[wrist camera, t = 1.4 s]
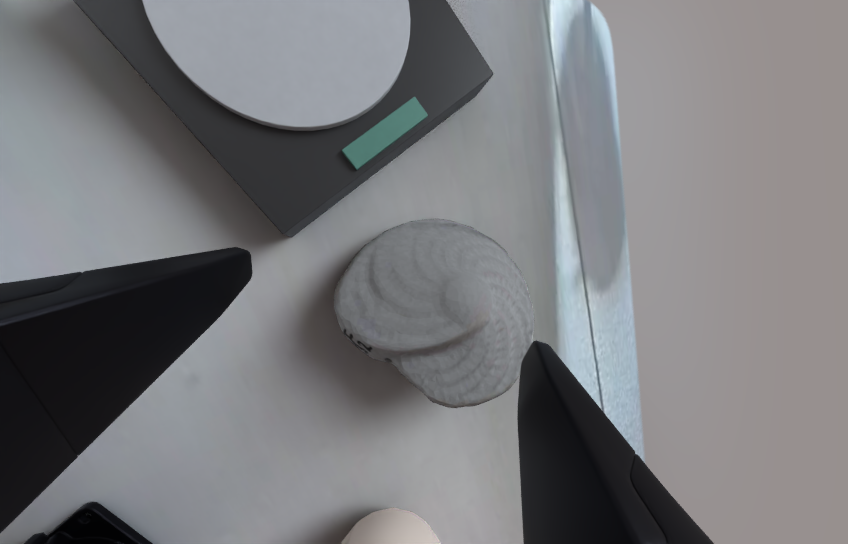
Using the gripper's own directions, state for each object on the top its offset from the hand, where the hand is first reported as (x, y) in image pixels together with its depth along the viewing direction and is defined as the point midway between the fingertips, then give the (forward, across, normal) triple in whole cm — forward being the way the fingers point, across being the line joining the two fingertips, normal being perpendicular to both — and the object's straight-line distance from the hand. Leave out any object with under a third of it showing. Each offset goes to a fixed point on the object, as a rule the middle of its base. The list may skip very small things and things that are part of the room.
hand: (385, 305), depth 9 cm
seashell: (+10, -1, +6) cm, 11 cm away
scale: (+12, +10, -6) cm, 17 cm away
